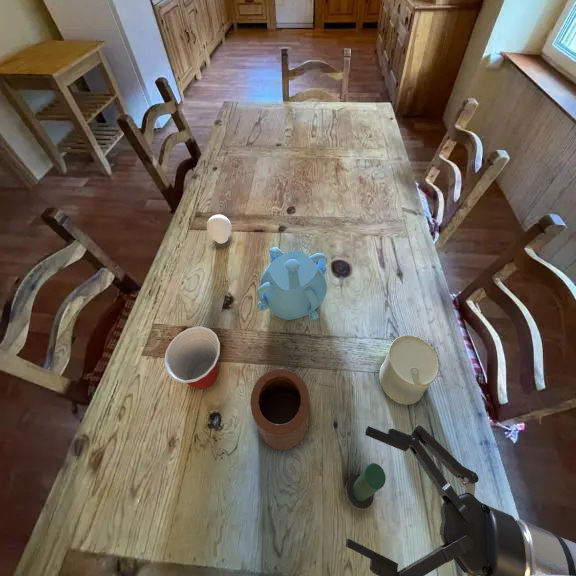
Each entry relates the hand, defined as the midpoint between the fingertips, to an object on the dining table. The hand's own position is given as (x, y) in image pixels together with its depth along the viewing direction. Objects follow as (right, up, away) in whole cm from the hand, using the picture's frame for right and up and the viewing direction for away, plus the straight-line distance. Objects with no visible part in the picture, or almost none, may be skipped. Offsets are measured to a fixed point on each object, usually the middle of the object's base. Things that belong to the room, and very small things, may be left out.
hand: (357, 481), depth 51 cm
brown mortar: (-11, -1, +16) cm, 20 cm away
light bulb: (-29, +28, +48) cm, 63 cm away
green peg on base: (+2, -9, +8) cm, 12 cm away
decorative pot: (-9, +17, +36) cm, 41 cm away
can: (+13, +4, +21) cm, 25 cm away
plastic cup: (-29, +4, +23) cm, 37 cm away
